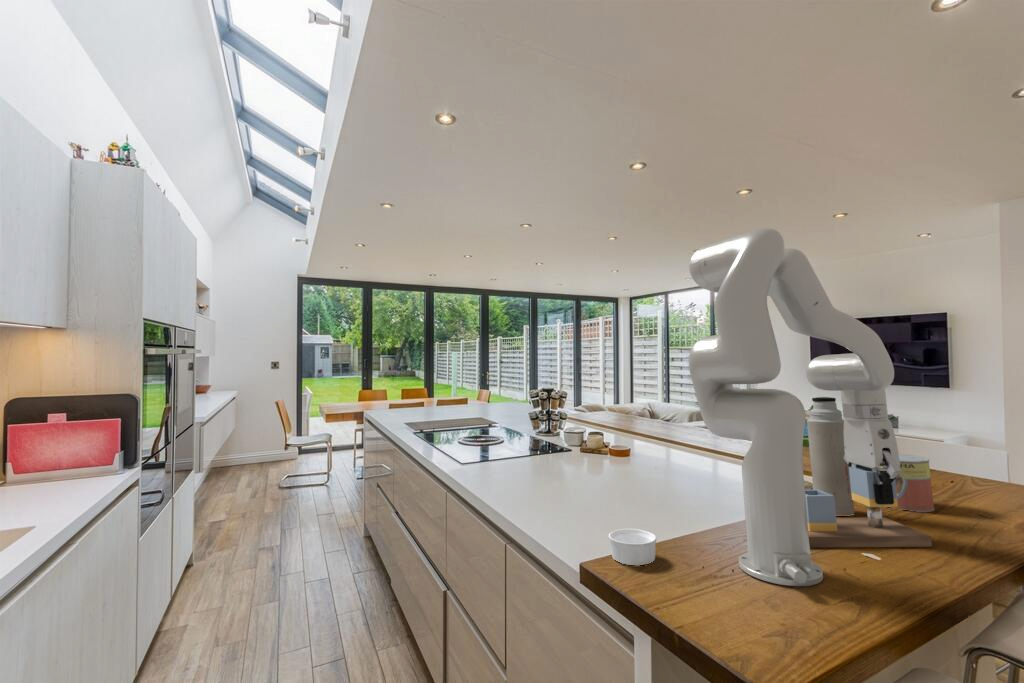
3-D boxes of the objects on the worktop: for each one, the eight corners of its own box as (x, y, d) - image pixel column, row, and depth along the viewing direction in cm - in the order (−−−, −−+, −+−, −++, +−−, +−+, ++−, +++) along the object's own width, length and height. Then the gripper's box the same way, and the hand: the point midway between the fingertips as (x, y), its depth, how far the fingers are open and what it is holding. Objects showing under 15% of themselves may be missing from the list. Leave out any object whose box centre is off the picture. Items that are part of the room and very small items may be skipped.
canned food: (866, 503, 116) (861, 456, 117) (890, 497, 121) (885, 452, 122) (920, 514, 106) (914, 463, 107) (943, 507, 111) (938, 458, 112)
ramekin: (600, 554, 89) (599, 532, 89) (638, 547, 92) (637, 525, 92) (627, 572, 80) (626, 546, 81) (667, 563, 83) (666, 539, 84)
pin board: (932, 546, 87) (928, 514, 87) (803, 547, 89) (800, 516, 89) (885, 526, 99) (882, 498, 99) (772, 527, 101) (770, 500, 101)
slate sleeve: (897, 506, 91) (894, 471, 92) (870, 507, 92) (866, 472, 92) (878, 499, 97) (874, 466, 97) (851, 499, 97) (848, 466, 97)
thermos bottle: (858, 512, 110) (847, 396, 112) (849, 519, 105) (837, 398, 107) (820, 505, 116) (811, 396, 118) (809, 512, 111) (800, 397, 113)
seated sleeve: (837, 531, 91) (834, 495, 92) (809, 531, 92) (806, 496, 92) (821, 522, 97) (818, 489, 97) (795, 522, 97) (792, 489, 98)
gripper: (916, 415, 87) (927, 511, 85) (855, 409, 104) (863, 489, 102) (875, 416, 87) (885, 512, 86) (821, 410, 104) (829, 490, 103)
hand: (873, 498), depth 94 cm, fingers closed on slate sleeve, 5 cm apart
